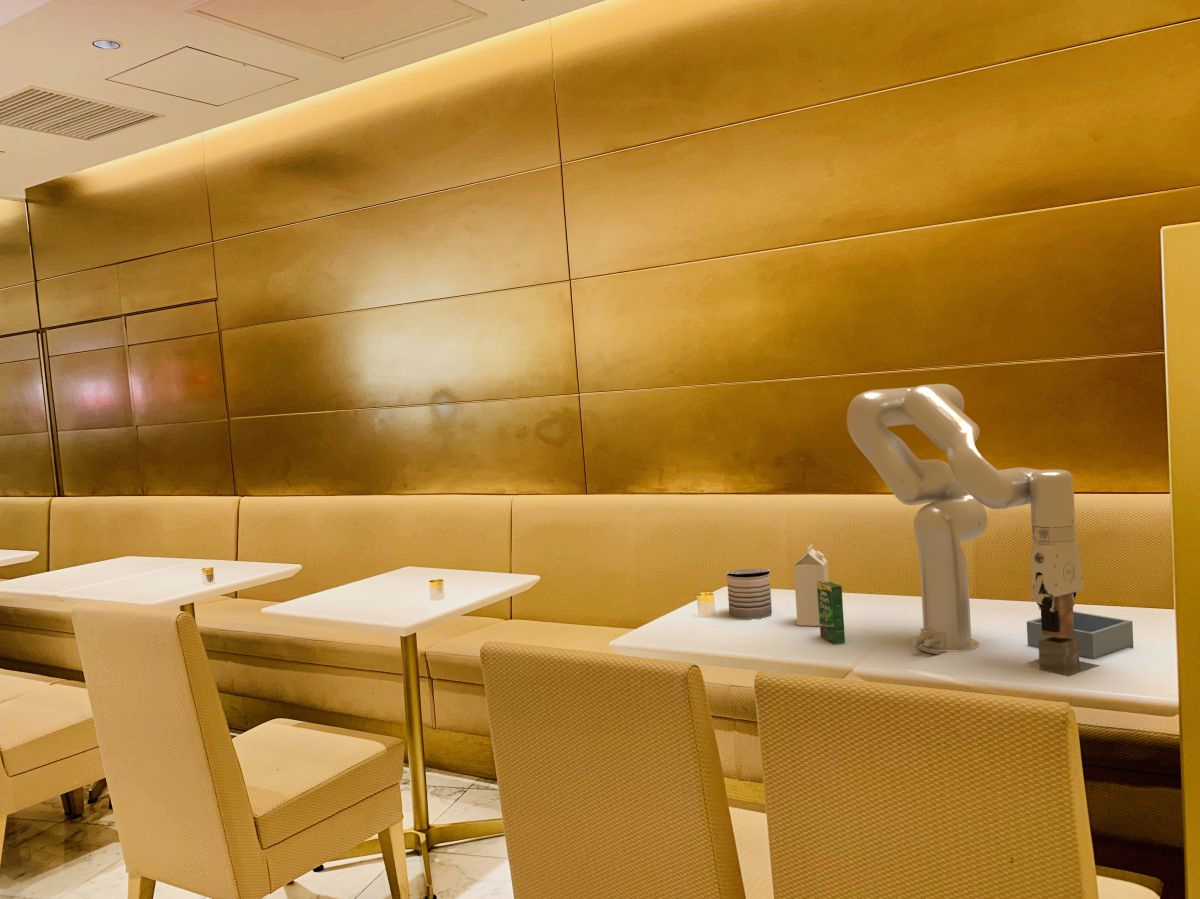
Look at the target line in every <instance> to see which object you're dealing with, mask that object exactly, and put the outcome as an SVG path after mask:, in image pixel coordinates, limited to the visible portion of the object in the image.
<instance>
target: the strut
mask: <svg viewBox="0 0 1200 899" xmlns="http://www.w3.org/2000/svg"><path fill="white" fill-rule="evenodd" d="M1045 594H1048V593H1047V592H1045ZM1046 599H1047V600H1048V601H1049V602H1050V598H1048V597H1046ZM1055 611H1058V620H1059V632H1056V633H1055V632H1050V631H1045V630H1042V635H1047V636H1048V637H1045V638H1042V639H1039V640H1038V644H1039V648H1038V659H1039V665H1041V666H1046V667H1050V668H1054V669H1059V670H1063V671H1065V670H1067V669H1070V668H1073V667H1076V666H1079V665H1080V664H1079V661H1080V656H1079V640H1078V639H1073V638H1068V636H1071V635H1074V618H1073V611H1074V606H1073V595H1072V593H1071V594H1067V595H1063V596H1059V597H1057V599H1056V610H1055Z"/></svg>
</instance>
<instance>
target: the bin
mask: <svg viewBox="0 0 1200 899" xmlns="http://www.w3.org/2000/svg"><path fill="white" fill-rule="evenodd" d="M1073 618H1074V635H1071V636H1068V638H1073V639H1078V640H1079V658H1080V657H1081V658H1086V659H1091V660H1096V659H1098V658H1102V657H1104V656H1107V655H1110V654H1113V653H1116V652H1118V651H1122V650H1124V649H1127V648H1129V649H1134V632H1133V631H1134V628H1133V627H1134V626H1133V620H1128V619H1122V618H1116V617H1111V616H1103V615H1099V614H1098V615H1097V614H1092V613H1085V612H1080V611H1075V610H1073ZM1026 634H1027V646H1029V647H1032V648H1038V649H1039V644H1038V640H1039V639H1042V638H1045V637H1048V636H1047V635H1042V625H1041V617H1038V618H1034V619H1032V620H1028V621H1026Z"/></svg>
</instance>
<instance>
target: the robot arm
mask: <svg viewBox="0 0 1200 899" xmlns="http://www.w3.org/2000/svg"><path fill="white" fill-rule="evenodd" d="M964 409H965V400H964V397H963V394H962V393H961V391H960V390H959V389H958V388H956V387H955V386H954V385H951V384H947V383H935V384H933V383H932V384H922V385H917V386H914V387H913V386H912V387H911V386H910V387H899V388H898V387H897V388H896V387H895V388H884V389H883V388H882V389H880V388H879V389H870V390H867V391H864V392H862V393H859V394H857V395H856V396H855V397H854V398H853V399H852V400H851V401H850V403H849V405H848V408H847V413H846V414H847V415H846V423H847V424H846V425H847V430H848V433H849V435H850V437H851V439H852V441H853V443H854V444H855V445H856V448H858V449H859V450H860V452H862V454H863V455H864V456H865V457H866V459H867V460H868V461H869V462H870V463H871V465H872V466H873V468H875V471H876V473H878V475H879V476H880V477H881V479H882V480H883V481H884V483H885V484H886V486H887V487H888V488H889V490H890V491H891V492H892V494H893V495H894V496H895V498H897V500H898V501H899V502H900V503H902V504H903V505H906V506H907V505H908V506H917V505H922V504H923V505H924V504H925V505H924V506H922V507H921V508H920V509H919V510H918V511H917V512H916V514H915V516H914V517H913V518H914V519H913V524H912V525H913V533H914V537H915V541H916V546H917V550H918V557H919V558H918V559H919V572H920V574H919V575H920V586H921V588H920V590H921V609H922V625H923V628H920V633H919V635H914V636H912V637H910V638H909V643H910V645H911V646H912V647H917V649H918V650H920V651H922V652H924V653H927V654H932V655H939V656H940V655H943V654H946V653H958V652H968V651H973V650H976V649H978V648H979V647H980V642H979V641H977V640H976V639H973V638H972V626H971V625H972V624H971V605H970V588H969V587H970V586H969V585H970V584H969V568H968V567H969V566H968V562H967V558H966V555H965V552H964V550H963V547H962V544H961V543H963V542H964V543H965V542H967V541H968V542H969V541H971V540H975V539H977V538H978V537H981V535H983V534H984V533H985V531H986V530H987V527H988V523H989V518H988V515H987V514H988V513H987V511H986V509H985V507H987V508H988V509H992V510H997V511H998V510H999V511H1000V510H1006V509H1010V508H1013V507H1021V506H1025V505H1030V519H1031V520H1030V521H1031V522H1030V523H1031V542H1032V545H1031V557H1030V583H1031V590H1032V593H1031V595H1030V598H1031V600H1032V601H1034V602H1035V603H1036V604H1037V606H1038V609H1039V610H1040V618H1041V625H1042V630H1045V631H1050V632H1055V633H1056V632H1059V620H1058V611H1055V610H1056V599H1057V597H1059V596H1063V595H1067V594H1071V593H1072V595H1073V607H1075V604H1076V602H1075V598H1076V596H1077V594H1078V592H1079V591H1081V590H1082V589H1083V588H1084V578H1083V577H1084V576H1083V565H1082V557H1081V551H1080V548H1079V547H1080V546H1079V544H1078V540H1077V536H1076V535H1077V534H1076V533H1077V532H1076V514H1075V513H1076V512H1075V511H1076V509H1075V508H1076V507H1075V506H1076V505H1075V489H1074V476H1073V474H1072V473H1071V472H1070V471H1068V470H1066V469H1051V468H1050V469H1036V468H1031V467H1021V466H1020V467H1012V468H1005V469H997V468H995V467H994V465H992V464H991V463H990V462H989V461H988V460H986V458H984V456H982V454H981V453H980V452H979V450H978V449H977V447H976V444H975V443H976V441H977V440H978V438H979V436H980V434H981V433H980V427H979V426H978V424H977V423H976V422H975V421H973V420H972V418H970V417H969V416H968V415H967V414H965V413H964ZM904 425H915V426H916V427H917V428H918V429H919V430H920V431H921V432H922V433H923V434H925V436H926V437H927V438H929V439H930V440H931V441H932V442H933V443H934V444H935V445H936V446H937V447H938V448H939V449H940V450H942V452H943V453H945V455H946V456H947V461H948V463H947V462H945V461H943V460H940V459H934V458H933V459H931V458H930V459H919V458H918V457H917V456H916V455H915V454H914V453H913V452H912V451H911V449H910V448H909V446H908V445H907V444H906V443H905V442H904V440H903V439H901V438H900V437H899V436H898V435H896V434H895V433H894V432H892V431H891V430H889V428H888V427H896V426H904ZM984 506H985V507H984ZM1045 592H1047V593H1048V594H1045ZM1046 597H1048V598H1050V602H1049V601H1048V600H1047V599H1046Z"/></svg>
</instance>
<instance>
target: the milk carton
mask: <svg viewBox="0 0 1200 899" xmlns="http://www.w3.org/2000/svg"><path fill="white" fill-rule="evenodd" d="M813 546H814V545H813V544H810V545H809V546H808V548H806V551H807V552H806V553H805V554H804V555H803V556H802V557H801V558H800V559H798V560H797V562H795V563H794V565H793V572H794V573H793V574H794V575H793V576H794V588H795V590H794V592H795V608H796V610H795V611H796V624H797V626H804V627H806V626H808V627H810V626H811V627H820V620H819V607H818V593H817V582H818V581H829V582H830V580H829V567H828V566H829V565H828V564H829V563H828V560H827V559H826V558H825V555H824V553H822V551H819V550H817V551H816V550H815V549H814V547H813Z"/></svg>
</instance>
